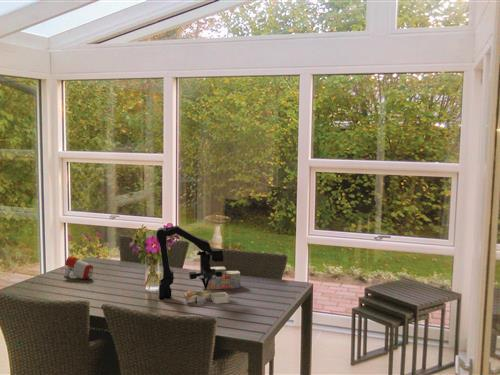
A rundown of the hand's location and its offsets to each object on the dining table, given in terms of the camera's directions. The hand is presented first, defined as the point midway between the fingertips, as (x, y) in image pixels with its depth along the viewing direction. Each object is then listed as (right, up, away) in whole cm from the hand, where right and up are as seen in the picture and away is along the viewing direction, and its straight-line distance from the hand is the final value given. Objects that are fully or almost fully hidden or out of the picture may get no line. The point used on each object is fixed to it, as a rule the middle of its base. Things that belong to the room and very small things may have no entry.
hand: (205, 288), depth 297 cm
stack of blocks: (+8, -3, +19) cm, 21 cm away
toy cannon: (-83, 0, +31) cm, 89 cm away
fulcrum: (-3, -5, -10) cm, 12 cm away
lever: (-4, -3, -6) cm, 8 cm away
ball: (-8, -1, -12) cm, 14 cm away
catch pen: (+9, -5, -6) cm, 12 cm away
